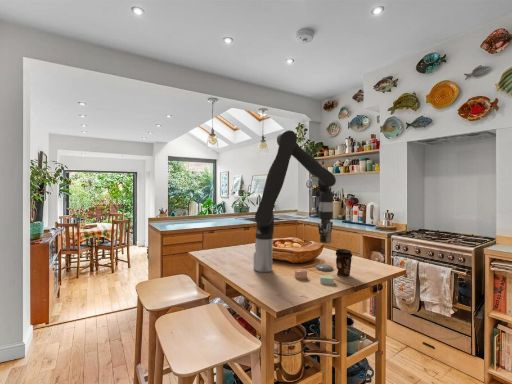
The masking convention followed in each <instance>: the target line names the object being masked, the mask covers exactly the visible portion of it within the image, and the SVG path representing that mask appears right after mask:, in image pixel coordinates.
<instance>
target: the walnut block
mask: <svg viewBox="0 0 512 384" xmlns="http://www.w3.org/2000/svg"><path fill="white" fill-rule="evenodd" d="M325 236H326V240H325V242H321V234H319V243H322V244H327V245H328V244H330V243H332V232H326V235H325Z"/></svg>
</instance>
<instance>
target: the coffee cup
mask: <svg viewBox="0 0 512 384" xmlns="http://www.w3.org/2000/svg"><path fill="white" fill-rule="evenodd" d="M335 256H336V258H335V264H336V269H337V272H336V276H337V277H340V278H343V279H344V278H346V279H347V278H349V277H350V276H351V275H350V274H351V269H352V268H351V267H352V258H353V253H352V252H351V250H349V249H346V248H339V249H336V250H335Z"/></svg>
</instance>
